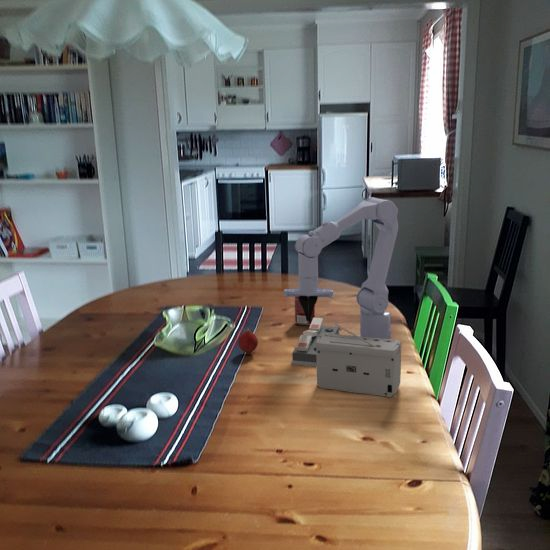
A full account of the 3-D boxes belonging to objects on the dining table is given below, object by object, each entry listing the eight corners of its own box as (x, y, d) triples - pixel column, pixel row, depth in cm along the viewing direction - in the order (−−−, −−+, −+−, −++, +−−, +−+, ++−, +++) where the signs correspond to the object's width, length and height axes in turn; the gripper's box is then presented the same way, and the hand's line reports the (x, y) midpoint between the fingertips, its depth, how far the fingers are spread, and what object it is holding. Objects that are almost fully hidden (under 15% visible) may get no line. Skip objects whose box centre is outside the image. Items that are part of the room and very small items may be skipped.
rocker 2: (323, 321, 179) (323, 318, 179) (319, 332, 174) (319, 328, 174) (313, 320, 180) (313, 317, 180) (309, 331, 175) (309, 327, 175)
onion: (235, 355, 166) (234, 330, 164) (245, 349, 171) (244, 324, 169) (252, 359, 164) (251, 333, 162) (261, 352, 169) (260, 327, 166)
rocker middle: (317, 334, 172) (317, 330, 172) (313, 336, 166) (313, 332, 166) (307, 334, 173) (307, 329, 173) (302, 335, 167) (303, 331, 167)
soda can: (307, 328, 188) (307, 293, 185) (291, 324, 192) (290, 290, 189) (318, 322, 193) (318, 289, 190) (302, 318, 197) (301, 286, 194)
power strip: (339, 333, 181) (339, 322, 181) (322, 367, 156) (321, 355, 155) (312, 331, 184) (312, 321, 183) (291, 364, 159) (290, 352, 158)
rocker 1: (311, 339, 165) (311, 335, 164) (307, 351, 160) (306, 347, 159) (301, 338, 165) (301, 334, 165) (296, 350, 161) (296, 346, 160)
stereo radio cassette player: (400, 386, 144) (402, 312, 139) (396, 400, 136) (398, 323, 131) (322, 376, 151) (321, 306, 146) (313, 390, 143) (312, 316, 138)
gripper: (333, 272, 166) (333, 316, 170) (285, 272, 169) (286, 315, 172) (332, 279, 160) (332, 323, 163) (282, 278, 162) (283, 322, 165)
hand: (308, 319), depth 167 cm, fingers closed
